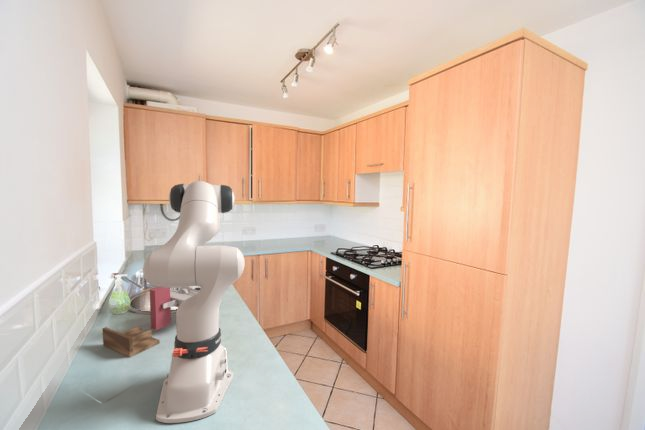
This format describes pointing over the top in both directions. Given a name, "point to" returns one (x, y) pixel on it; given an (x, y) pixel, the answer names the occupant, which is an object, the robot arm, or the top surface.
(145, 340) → the book rack
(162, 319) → the red rectangular block
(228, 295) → the top surface
